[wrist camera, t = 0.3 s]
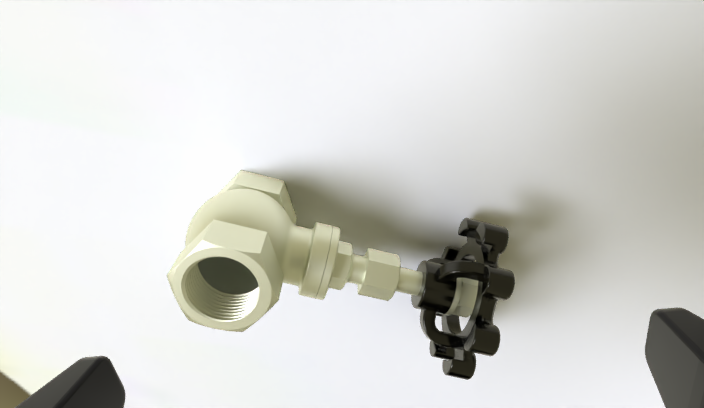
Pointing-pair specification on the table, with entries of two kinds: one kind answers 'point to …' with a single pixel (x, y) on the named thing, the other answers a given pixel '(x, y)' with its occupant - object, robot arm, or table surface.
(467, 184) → the table surface
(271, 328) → the table surface
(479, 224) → the valve
